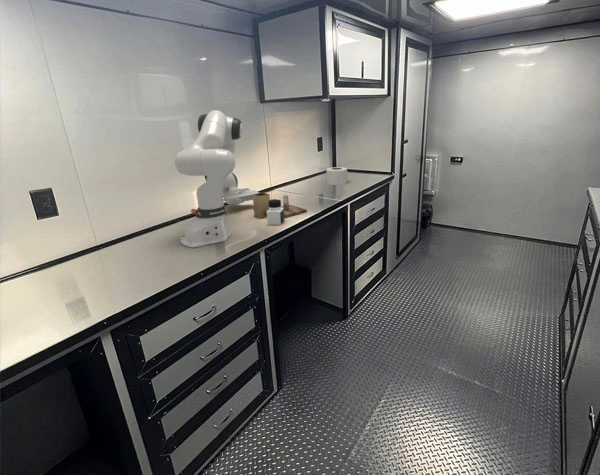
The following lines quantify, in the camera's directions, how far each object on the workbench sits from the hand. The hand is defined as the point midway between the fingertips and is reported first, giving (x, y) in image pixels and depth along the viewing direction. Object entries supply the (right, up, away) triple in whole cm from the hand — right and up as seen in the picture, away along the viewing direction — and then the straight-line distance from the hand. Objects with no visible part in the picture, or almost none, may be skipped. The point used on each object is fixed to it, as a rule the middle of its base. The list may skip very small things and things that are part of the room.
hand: (249, 199), depth 191 cm
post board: (+21, -7, -2) cm, 22 cm away
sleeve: (+8, -9, -6) cm, 14 cm away
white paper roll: (+56, +20, +67) cm, 89 cm away
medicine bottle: (+16, -14, -18) cm, 28 cm away
